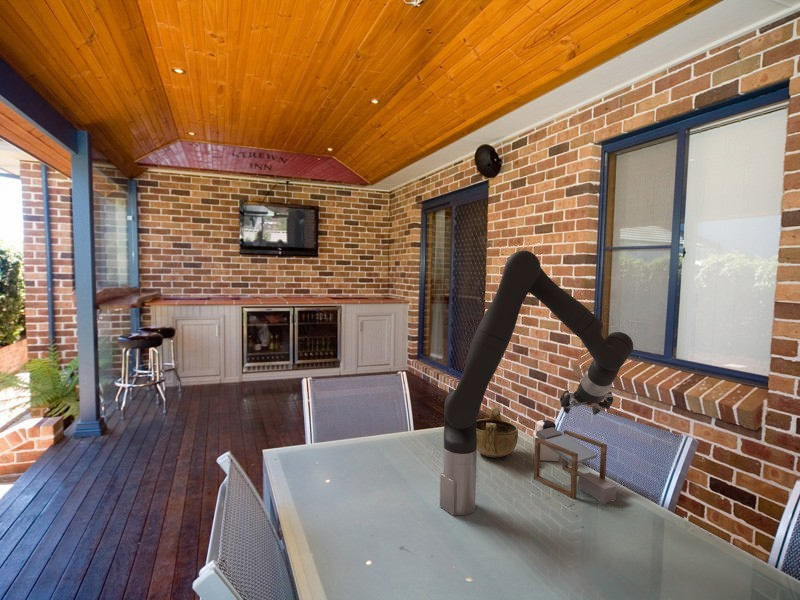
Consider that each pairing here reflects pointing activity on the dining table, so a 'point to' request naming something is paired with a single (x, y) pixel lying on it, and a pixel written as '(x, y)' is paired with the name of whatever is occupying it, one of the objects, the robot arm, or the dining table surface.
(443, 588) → the dining table surface
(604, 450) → the frame
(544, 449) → the container
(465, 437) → the robot arm
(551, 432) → the trapdoor
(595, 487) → the stone
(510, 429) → the ceramic bowl
